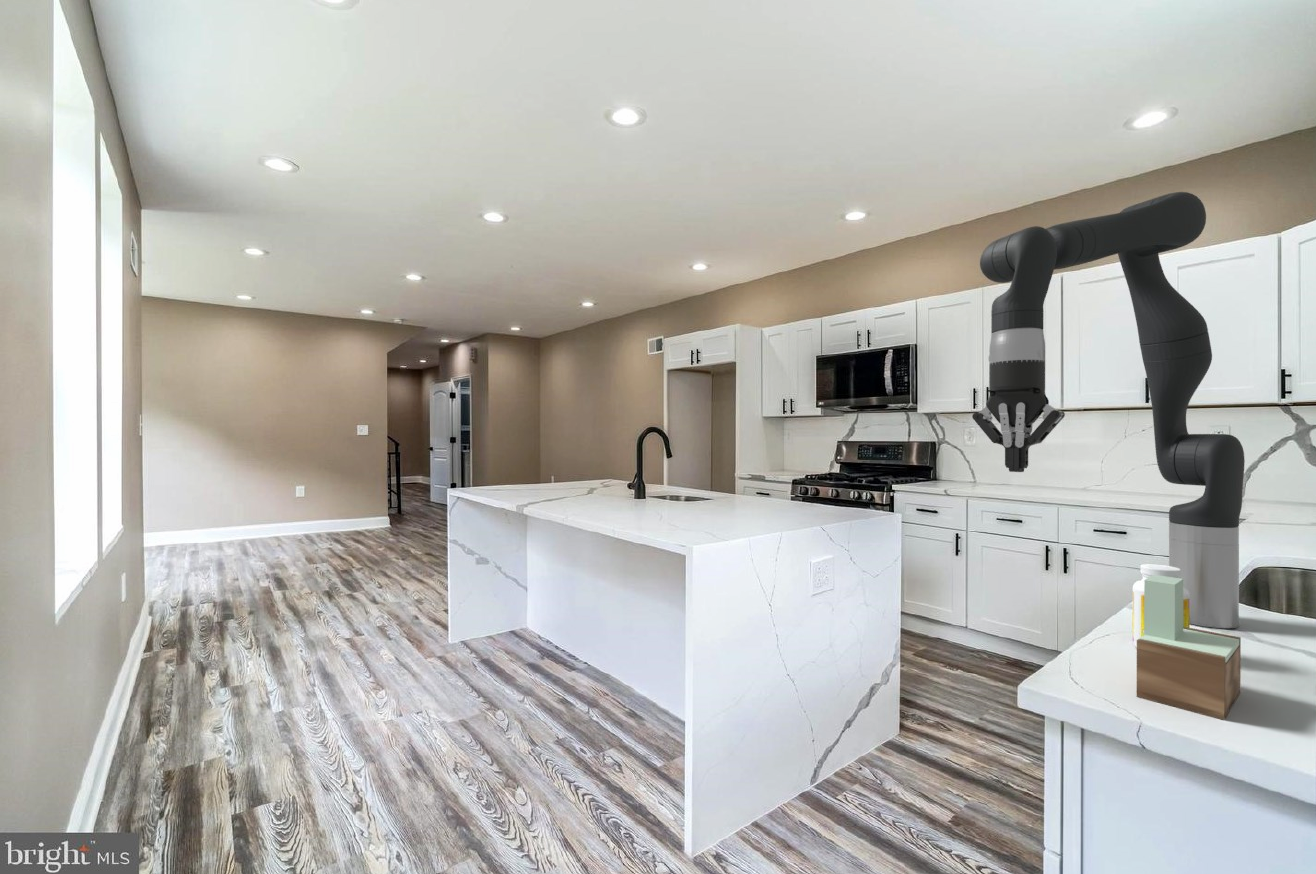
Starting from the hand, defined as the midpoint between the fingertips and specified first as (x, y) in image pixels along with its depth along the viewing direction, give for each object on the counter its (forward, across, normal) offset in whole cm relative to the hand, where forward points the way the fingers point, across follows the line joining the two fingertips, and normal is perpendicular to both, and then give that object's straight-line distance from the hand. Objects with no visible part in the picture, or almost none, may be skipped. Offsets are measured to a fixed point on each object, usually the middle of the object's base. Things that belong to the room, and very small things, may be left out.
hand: (1016, 471), depth 94 cm
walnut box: (+27, -21, +3) cm, 34 cm away
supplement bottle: (+27, -15, -14) cm, 34 cm away
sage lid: (+21, -21, +3) cm, 30 cm away
